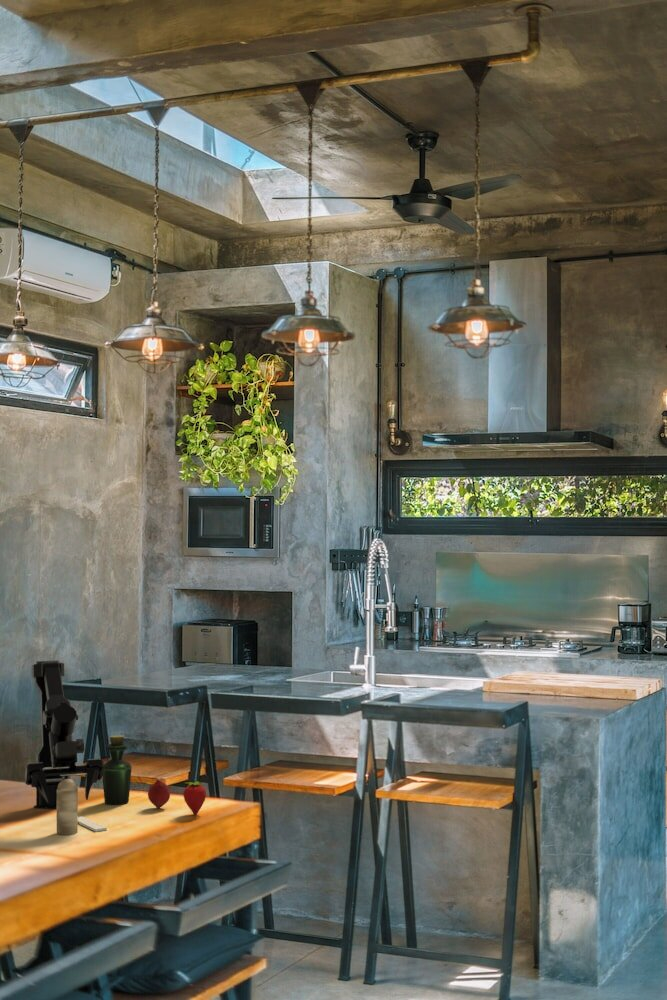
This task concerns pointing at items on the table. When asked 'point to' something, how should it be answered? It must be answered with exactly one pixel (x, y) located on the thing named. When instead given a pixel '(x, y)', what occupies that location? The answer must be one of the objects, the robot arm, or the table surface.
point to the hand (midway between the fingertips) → (68, 800)
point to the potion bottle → (116, 773)
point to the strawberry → (194, 796)
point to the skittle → (67, 807)
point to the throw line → (91, 824)
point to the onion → (159, 793)
